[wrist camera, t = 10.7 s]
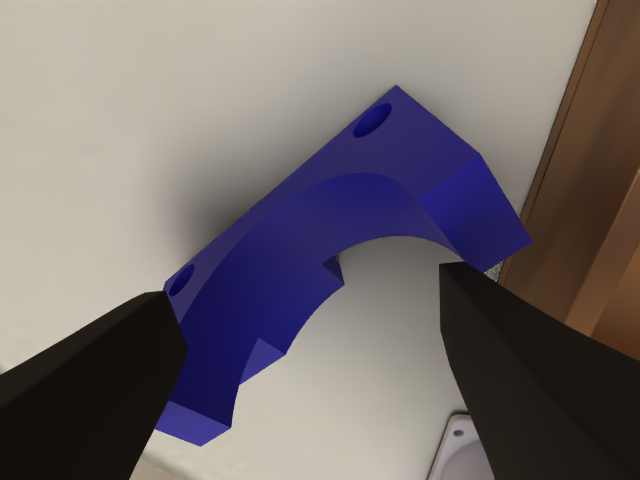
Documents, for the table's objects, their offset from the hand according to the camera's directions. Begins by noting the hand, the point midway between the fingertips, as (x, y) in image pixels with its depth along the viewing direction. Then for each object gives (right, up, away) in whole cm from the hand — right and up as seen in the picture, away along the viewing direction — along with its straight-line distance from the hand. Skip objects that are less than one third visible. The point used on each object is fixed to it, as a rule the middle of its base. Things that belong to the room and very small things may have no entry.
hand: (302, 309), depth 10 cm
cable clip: (0, +2, +6) cm, 6 cm away
